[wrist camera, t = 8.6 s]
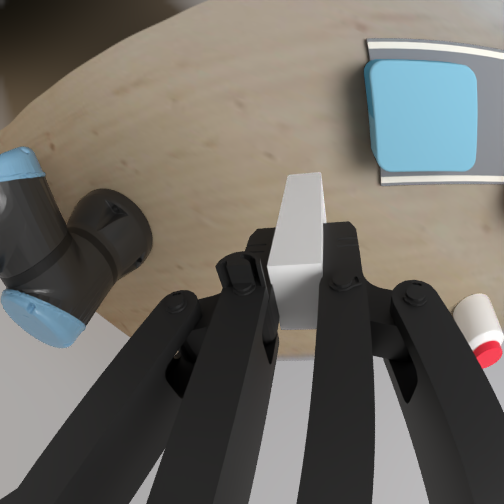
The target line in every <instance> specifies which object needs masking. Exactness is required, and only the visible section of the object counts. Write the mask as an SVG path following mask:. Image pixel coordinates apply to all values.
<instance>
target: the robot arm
mask: <svg viewBox="0 0 504 504" xmlns="http://www.w3.org/2000/svg"><path fill="white" fill-rule="evenodd" d="M45 176H46V175H45V172H43V171H42V169H41V167H40V164H39V162H38V160H37V158H36V155H35V153H34V152H33V150H32V149H30V148H28V147H18V148H15V149H12V150H10V151H7V152H5V153H2V154H0V278H1V280H2V281H3V282H4V284H5V286H6V290H4V291H3V292H2V296H1V303H2V305H3V308H4V309H5V311H6V312H7V313H8V315H9V316H10V317H11V318H12V319H13V320H14V321H15V322H16V323H17V324H18V325H19V326H20V327H21V328H22V329H24V330H25V331H26V332H27V333H29V334H30V335H32V336H33V337H35V338H36V339H38V340H40V341H41V342H43V343H46V344H48V345H50V346H53V347H57V348H66V347H69V346H71V345H72V344H73V343H74V341H75V340H76V338H77V337H78V336H79V335H80V334H81V332H82V331H84V330H85V328H86V325H87V324H88V322H89V321H90V319H91V318H92V316H93V315H94V313H95V312H96V310H97V309H98V307H99V306H100V304H101V303H102V301H103V300H104V298H105V297H106V295H107V294H108V292H109V291H110V289H111V288H112V287H113V285H114V284H115V282H116V281H117V280H119V279H121V278H122V277H124V276H125V275H127V274H129V273H130V272H132V271H133V270H135V269H137V268H138V267H139V266H140V265H141V264H142V263H143V262H144V261H145V259H146V258H147V256H148V255H149V253H150V251H151V248H152V233H151V229H150V226H149V224H148V221H147V219H146V218H145V216H144V214H143V213H142V212H141V210H140V209H139V208H138V207H137V206H136V205H135V204H134V203H133V202H132V201H131V200H130V199H128V198H127V197H126V196H124V195H122V194H120V193H118V192H116V191H113V190H109V189H97V190H94V191H91V192H90V193H88V194H87V195H86V196H85V197H83V198H82V199H81V200H80V201H79V202H78V204H77V205H76V207H75V209H74V211H73V213H72V215H71V217H70V219H69V221H68V223H67V225H66V223H65V221H64V219H63V217H62V215H61V213H60V211H59V208H58V206H57V204H56V202H55V200H54V197H53V195H52V193H51V190H50V188H49V186H48V183H47V181H46V178H45ZM215 267H216V270H217V273H218V276H219V278H220V281H221V284H222V287H223V289H222V291H221V293H220V294H217V295H214V296H210V297H206V298H202V299H197V297H196V295H195V294H194V293H193V292H191V291H188V290H180V291H176V292H173V293H171V294H169V295H167V296H166V297H165V298H164V299H162V300H161V301H160V303H159V304H158V305H157V306H156V307H155V309H154V310H153V311H152V312H151V313H150V315H149V316H148V317H147V318H146V320H145V321H144V322H143V323H142V324H141V326H140V327H139V328H138V329H137V331H136V332H135V333H134V334H133V336H132V337H131V338H130V339H129V340H128V342H127V343H126V344H125V345H124V347H123V348H122V349H121V350H120V352H119V353H118V354H117V356H116V357H115V358H114V359H113V361H112V362H111V363H110V364H109V366H108V367H107V368H106V369H105V371H104V372H103V373H102V374H101V376H100V377H99V378H98V380H97V381H96V382H95V384H94V385H93V386H92V387H91V389H90V390H89V391H88V392H87V394H86V395H85V396H84V398H83V399H82V401H81V402H80V403H79V404H78V406H77V407H76V408H75V410H74V411H73V412H72V414H71V415H70V416H69V418H68V419H67V420H66V421H65V423H64V424H63V426H62V427H61V428H60V430H59V431H58V433H57V434H56V435H55V436H54V438H53V439H52V441H51V442H50V443H49V445H48V446H47V447H46V449H45V450H44V451H43V453H42V454H41V456H40V457H39V458H38V460H37V461H36V463H35V464H34V465H33V467H32V468H31V470H30V471H29V473H28V474H27V475H26V477H25V478H24V480H23V481H22V483H21V484H20V485H19V487H18V488H17V489H16V490H14V491H13V492H11V493H10V494H8V495H7V496H5V497H4V498H2V499H1V500H0V504H129V503H130V501H131V500H132V498H133V497H134V495H135V494H136V492H137V491H138V489H139V488H140V486H141V485H142V483H143V482H144V480H145V478H146V477H147V475H148V474H149V472H150V471H151V469H152V468H153V466H154V465H155V463H156V461H157V460H158V458H159V457H160V455H161V454H162V452H163V451H164V449H165V451H164V454H163V456H162V459H161V462H160V465H159V468H158V471H157V474H156V477H155V480H154V483H153V486H152V488H151V491H150V495H149V498H148V500H147V503H146V504H248V502H249V498H250V493H251V489H252V484H253V479H254V475H255V470H256V465H257V460H258V455H259V451H260V446H261V441H262V435H263V430H264V425H265V420H266V415H267V409H268V404H269V399H270V393H271V387H272V381H273V376H274V370H275V365H276V359H277V353H278V347H279V337H278V332H277V330H278V324H279V322H280V327H281V330H297V329H317V332H316V347H315V359H314V372H313V382H312V392H311V403H310V411H309V421H308V429H307V437H306V444H305V452H304V459H303V466H302V473H301V480H300V486H299V492H298V498H297V504H372V494H373V478H374V454H375V451H374V450H375V400H374V399H375V398H374V397H375V396H374V370H373V356H377V357H382V358H383V359H384V362H385V365H386V368H387V370H388V373H389V376H390V378H391V381H392V384H393V387H394V390H395V392H396V395H397V398H398V401H399V404H400V407H401V410H402V412H403V415H404V418H405V421H406V424H407V428H408V431H409V433H410V437H411V440H412V443H413V446H414V449H415V453H416V456H417V460H418V463H419V467H420V470H421V474H422V477H423V481H424V485H425V488H426V492H427V496H428V500H429V504H504V412H503V410H502V408H501V405H500V403H499V401H498V399H497V397H496V395H495V393H494V391H493V389H492V387H491V385H490V383H489V381H488V379H487V377H486V375H485V373H484V371H483V369H482V367H481V365H480V364H479V362H478V360H477V358H476V356H475V354H474V353H473V351H472V349H471V347H470V345H469V344H468V342H467V340H466V339H465V337H464V335H463V333H462V332H461V330H460V328H459V327H458V325H457V323H456V322H455V320H454V319H453V317H452V315H451V314H450V312H449V311H448V309H447V307H446V306H445V304H444V303H443V301H442V300H441V298H440V296H439V295H438V293H437V292H436V291H435V289H434V288H433V287H432V286H431V285H429V284H427V283H425V282H423V281H418V280H408V281H404V282H402V283H399V284H398V285H397V286H396V287H395V288H394V289H393V290H388V289H383V288H379V287H376V286H374V285H372V284H371V283H369V282H368V281H367V280H366V279H365V277H364V276H363V272H362V266H361V258H360V251H359V245H358V239H357V232H356V228H355V227H354V226H353V225H352V224H351V223H350V222H334V223H326V213H325V204H324V194H323V186H322V177H321V172H316V173H304V174H294V175H288V178H287V182H286V186H285V191H284V195H283V200H282V204H281V208H280V213H279V217H278V221H277V226H276V228H263V229H257V230H256V231H255V232H254V233H253V234H252V235H251V236H250V238H249V241H248V243H247V247H246V249H245V252H243V251H242V252H236V253H232V254H230V255H228V256H225V257H224V258H223V259H221V260H220V261H219V262H218V263H217V265H216V266H215ZM177 351H179V352H178V353H177ZM176 353H177V354H176ZM175 354H176V355H175Z"/></svg>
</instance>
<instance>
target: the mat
mask: <svg viewBox="0 0 504 504" xmlns="http://www.w3.org/2000/svg"><path fill="white" fill-rule="evenodd" d="M366 40H367V46H368V52H369V58H370V61H371V60H374V59H408V60H428V61H442V62H451V63H456V64H462V65H466V66H468V67H469V68H470V69H471V70H472V71H473V72H474V74H475V76H476V80H477V107H478V118H477V148H476V160H475V163H474V165H473V167H472V168H471V169H469V170H468V171H464V172H456V171H418V172H388V171H385V170H383V169H382V168H381V167H380V180H381V186H389V185H420V184H504V50H500V49H495V48H489V47H483V46H477V45H471V44H464V43H456V42H447V41H436V40H422V39H397V38H371V39H366Z"/></svg>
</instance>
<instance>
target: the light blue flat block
mask: <svg viewBox="0 0 504 504" xmlns="http://www.w3.org/2000/svg"><path fill="white" fill-rule="evenodd" d="M364 78H365V86H366V95H367V104H368V114H369V125H370V138H371V149H372V152H373V154H374V156H375V158H376V160H377V163H378V165H379V166H380V167H381V168H382V169H383V170H385V171H388V172H418V171H456V172H464V171H468V170H469V169H471V168H472V167H473V165H474V163H475V160H476V148H477V118H478V107H477V80H476V76H475V74H474V72H473V71H472V70H471V69H470V68H469V67H468V66H466V65H462V64H456V63H451V62H442V61H428V60H408V59H374V60H371V61H369V62H368V63H367V64H366V66H365V68H364Z"/></svg>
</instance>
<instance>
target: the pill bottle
mask: <svg viewBox="0 0 504 504" xmlns="http://www.w3.org/2000/svg"><path fill="white" fill-rule="evenodd" d="M453 318H454V320H455V322H456V323H457V325H458V327H459V328H460V330H461V332H462V333H463V335H464V337H465V339H466V340H467V342H468V344H469V345H470V347H471V349H472V351H473V353H474V354H475V356H476V358H477V360H478V362H479V364H480V365H481V367H482V368H486V367H489V366H491V365H493V364H494V363H495V362H497V361H498V360H499V359H500V358H501V356H502V349H501V345H502V343H503V340H504V335H503V332H502V329H501V326H500V324H499V321H498V318H497V316H496V313H495V311H494V308H493V306H492V304H491V301H490V299H489V297H488V296H487V295H485V294H481V293H478V294H473V295H470V296H468V297H466V298H464V299H463V300H462V301H461V302H459V303H458V305H457V306H456V308H455V309H454V312H453Z"/></svg>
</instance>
